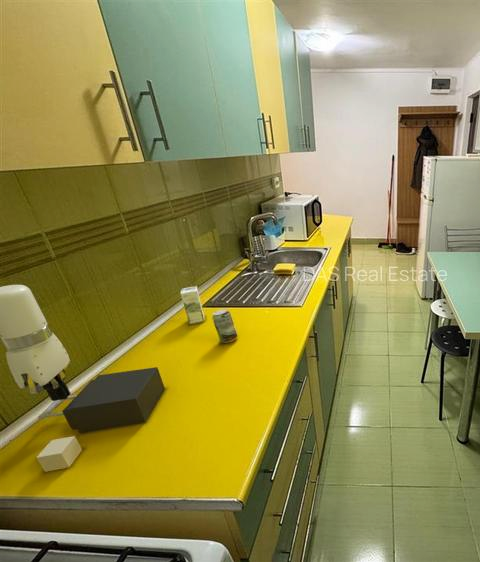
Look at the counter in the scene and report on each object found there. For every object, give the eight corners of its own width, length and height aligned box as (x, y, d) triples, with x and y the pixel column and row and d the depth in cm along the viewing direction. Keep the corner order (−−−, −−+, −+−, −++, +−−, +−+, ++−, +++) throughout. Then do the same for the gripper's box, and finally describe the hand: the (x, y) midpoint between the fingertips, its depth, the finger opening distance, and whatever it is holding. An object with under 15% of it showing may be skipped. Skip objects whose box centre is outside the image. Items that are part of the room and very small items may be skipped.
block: (45, 472, 66) (36, 457, 65) (59, 453, 71) (51, 439, 69) (69, 467, 67) (61, 453, 66) (82, 449, 71) (74, 435, 70)
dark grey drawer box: (79, 433, 76) (66, 409, 73) (108, 397, 87) (98, 375, 84) (145, 422, 79) (135, 398, 75) (165, 389, 90) (157, 366, 87)
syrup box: (204, 315, 131) (196, 285, 126) (204, 322, 127) (196, 290, 121) (189, 319, 129) (180, 288, 123) (189, 325, 124) (180, 293, 119)
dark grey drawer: (37, 436, 74) (25, 417, 72) (69, 402, 84) (60, 384, 82) (133, 420, 78) (125, 401, 76) (152, 389, 88) (146, 372, 86)
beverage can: (229, 346, 110) (222, 317, 105) (213, 342, 112) (206, 314, 108) (242, 337, 115) (236, 309, 111) (226, 333, 118) (220, 306, 113)
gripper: (34, 323, 77) (65, 380, 84) (-23, 358, 63) (19, 423, 70) (69, 319, 78) (96, 376, 85) (21, 353, 65) (58, 417, 72)
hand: (61, 397), depth 78 cm, fingers closed
